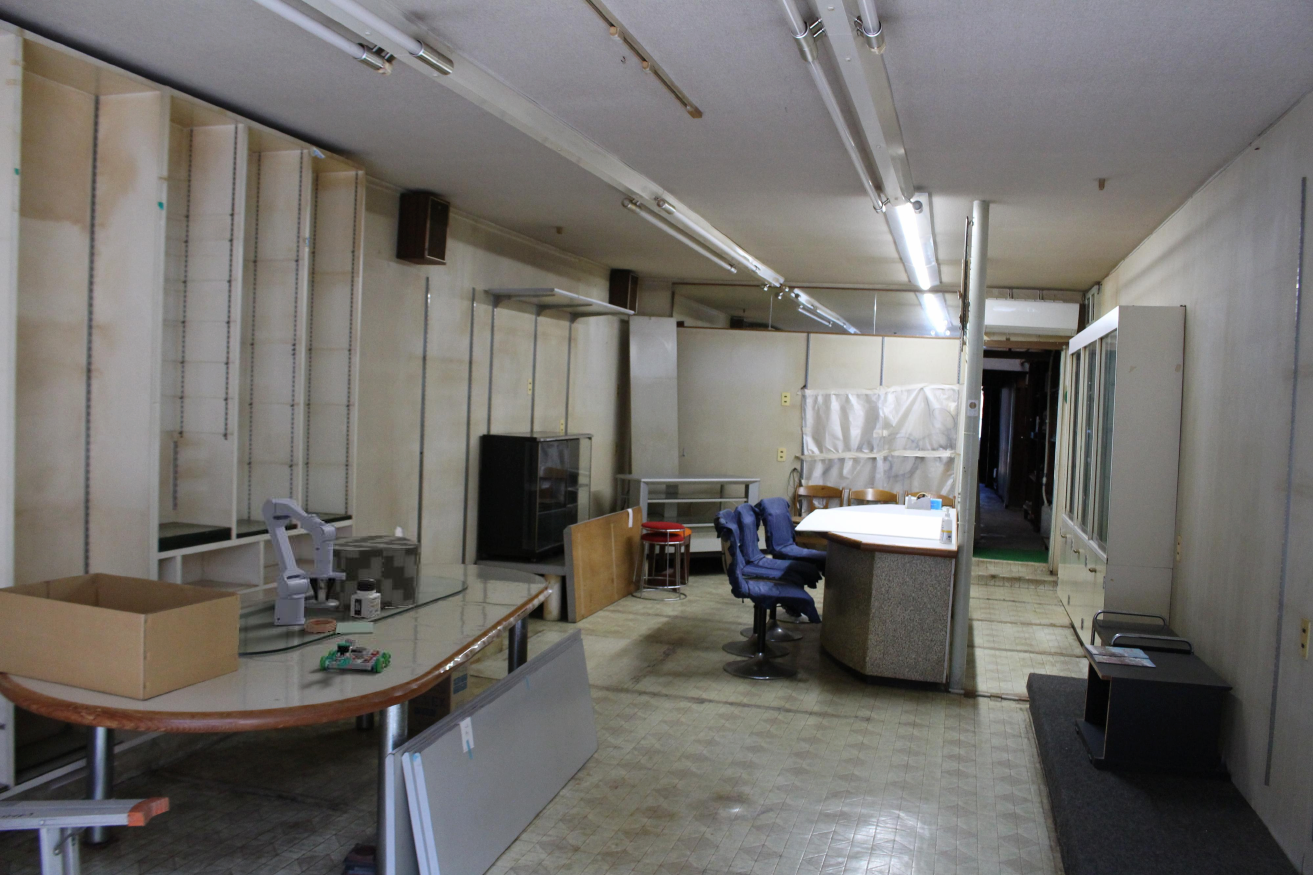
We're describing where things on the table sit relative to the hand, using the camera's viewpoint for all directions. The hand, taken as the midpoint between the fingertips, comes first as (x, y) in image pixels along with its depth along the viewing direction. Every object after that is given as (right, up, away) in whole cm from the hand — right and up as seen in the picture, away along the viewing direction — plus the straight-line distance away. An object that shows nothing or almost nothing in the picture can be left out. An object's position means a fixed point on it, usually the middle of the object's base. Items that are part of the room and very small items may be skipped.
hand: (321, 600), depth 305 cm
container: (+7, -10, +23) cm, 26 cm away
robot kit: (+25, -13, -45) cm, 54 cm away
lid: (0, -1, 0) cm, 1 cm away
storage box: (0, -9, +48) cm, 49 cm away
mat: (+10, -10, +3) cm, 15 cm away
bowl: (0, -10, 0) cm, 10 cm away
